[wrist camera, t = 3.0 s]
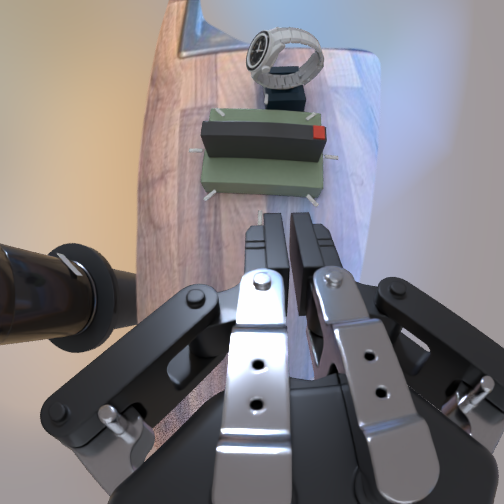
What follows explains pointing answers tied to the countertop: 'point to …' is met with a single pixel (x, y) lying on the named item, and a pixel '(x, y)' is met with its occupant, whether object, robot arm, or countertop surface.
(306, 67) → the watch
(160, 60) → the countertop surface
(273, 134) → the pointer
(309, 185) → the dial panel
